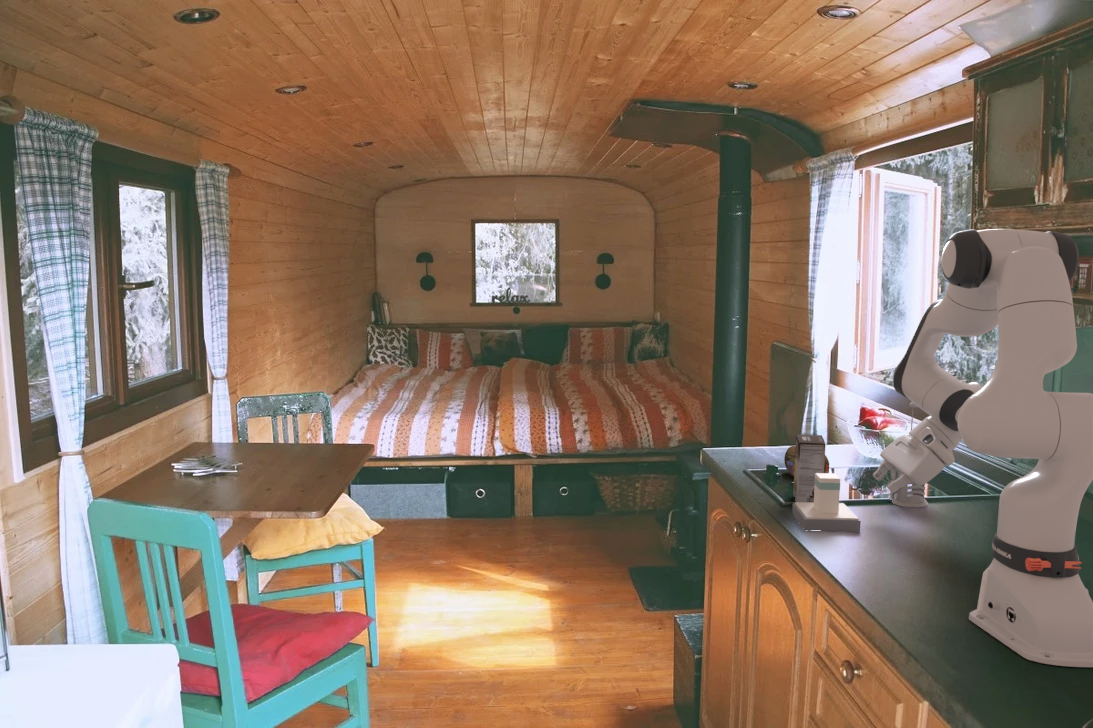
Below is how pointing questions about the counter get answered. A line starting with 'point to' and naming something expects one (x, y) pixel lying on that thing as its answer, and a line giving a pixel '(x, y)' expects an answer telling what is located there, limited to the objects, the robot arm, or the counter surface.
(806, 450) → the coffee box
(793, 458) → the tin
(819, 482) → the carton
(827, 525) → the podium
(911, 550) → the counter surface
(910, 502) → the french press
